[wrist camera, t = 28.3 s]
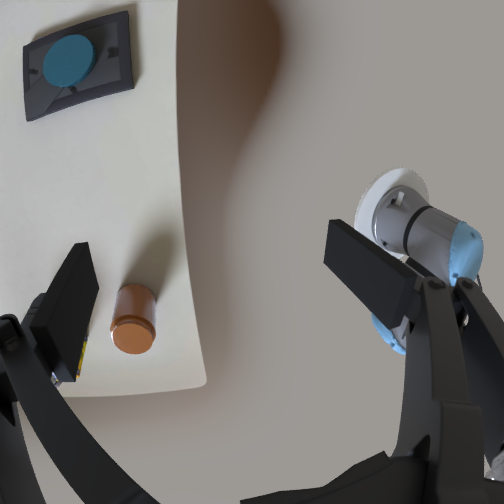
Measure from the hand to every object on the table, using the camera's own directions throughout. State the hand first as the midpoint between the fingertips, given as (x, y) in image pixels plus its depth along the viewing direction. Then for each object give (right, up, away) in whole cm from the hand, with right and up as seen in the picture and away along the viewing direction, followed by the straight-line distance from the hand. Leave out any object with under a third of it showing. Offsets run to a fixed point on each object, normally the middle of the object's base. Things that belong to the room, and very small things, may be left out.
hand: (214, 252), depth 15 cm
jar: (-19, -9, +35) cm, 41 cm away
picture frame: (-25, +28, +15) cm, 40 cm away
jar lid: (-24, +27, +12) cm, 37 cm away
